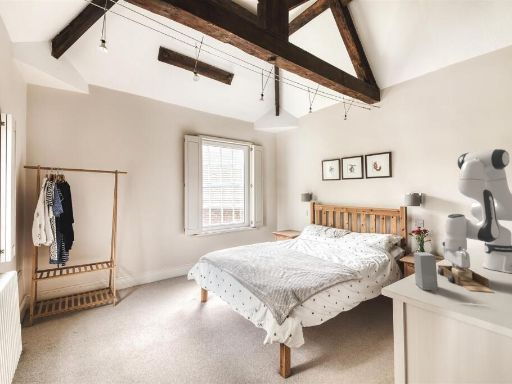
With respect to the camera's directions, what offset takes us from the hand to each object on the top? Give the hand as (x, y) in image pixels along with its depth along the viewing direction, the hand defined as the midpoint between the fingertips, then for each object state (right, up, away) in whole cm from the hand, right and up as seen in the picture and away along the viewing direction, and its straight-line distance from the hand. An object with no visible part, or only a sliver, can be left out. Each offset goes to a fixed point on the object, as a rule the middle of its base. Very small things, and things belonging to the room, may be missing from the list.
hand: (456, 272), depth 134 cm
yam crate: (-1, -1, -5) cm, 5 cm away
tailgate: (-4, -2, -15) cm, 16 cm away
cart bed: (-1, -3, -4) cm, 5 cm away
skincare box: (-25, -3, -14) cm, 29 cm away
